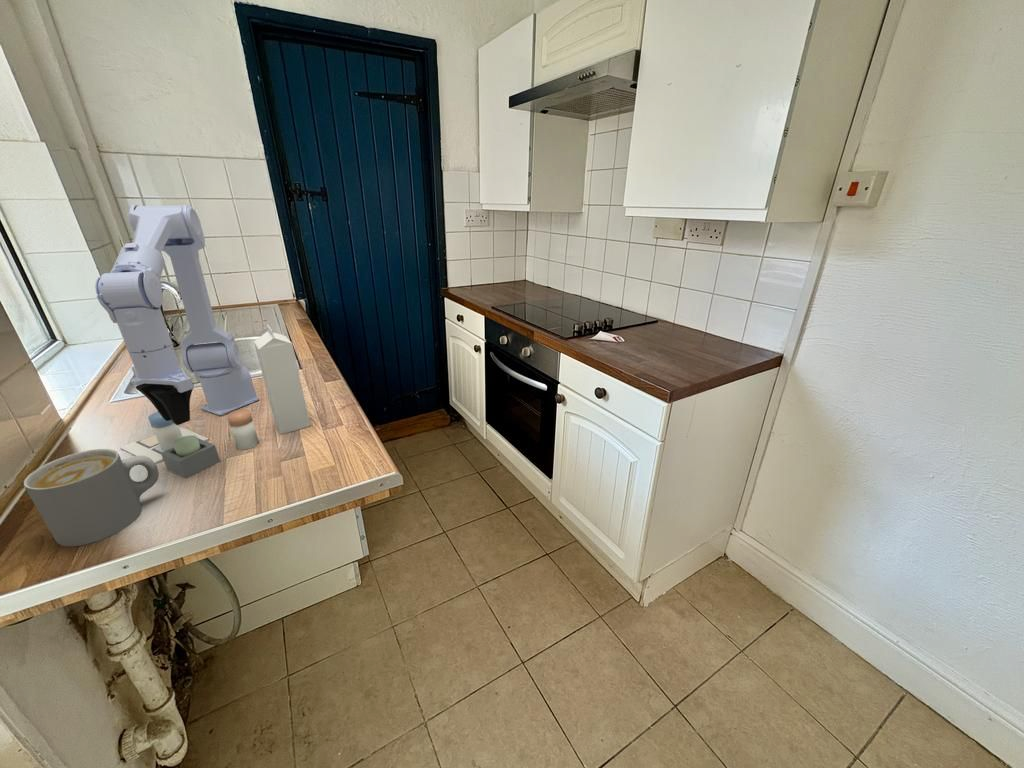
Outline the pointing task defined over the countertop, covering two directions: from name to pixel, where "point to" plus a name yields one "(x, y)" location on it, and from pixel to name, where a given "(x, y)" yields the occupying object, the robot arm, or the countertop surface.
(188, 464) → the button housing
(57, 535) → the coffee mug
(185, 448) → the button
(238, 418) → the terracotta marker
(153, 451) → the sheet
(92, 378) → the countertop surface
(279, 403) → the milk
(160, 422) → the cylinder
